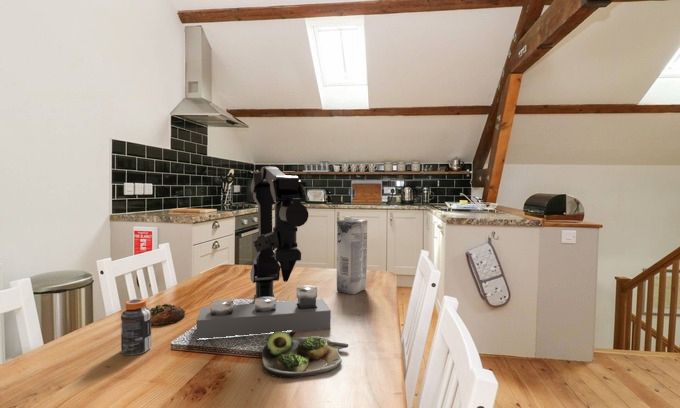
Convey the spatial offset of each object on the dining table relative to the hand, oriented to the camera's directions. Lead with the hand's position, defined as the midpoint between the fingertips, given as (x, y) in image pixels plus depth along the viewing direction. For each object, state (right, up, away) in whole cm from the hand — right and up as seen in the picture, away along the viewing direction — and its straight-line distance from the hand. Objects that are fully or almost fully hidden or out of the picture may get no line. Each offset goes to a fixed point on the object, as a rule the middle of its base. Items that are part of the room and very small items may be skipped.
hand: (285, 281), depth 97 cm
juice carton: (+19, -11, +35) cm, 41 cm away
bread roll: (-35, -12, +5) cm, 37 cm away
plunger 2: (+6, -9, +2) cm, 11 cm away
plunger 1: (-16, -12, -3) cm, 20 cm away
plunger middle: (-5, -12, -1) cm, 13 cm away
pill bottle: (-31, -13, -15) cm, 37 cm away
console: (-5, -12, -1) cm, 13 cm away
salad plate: (+5, -14, -17) cm, 23 cm away
